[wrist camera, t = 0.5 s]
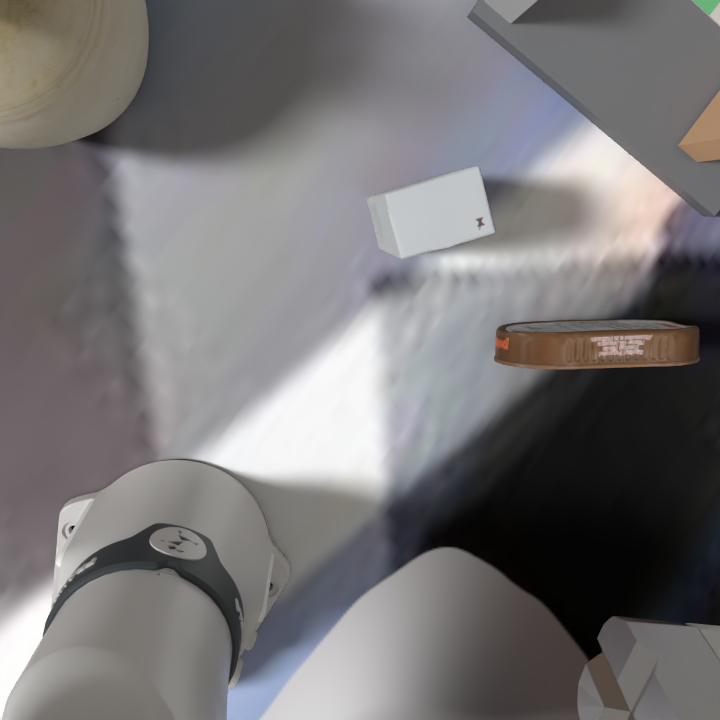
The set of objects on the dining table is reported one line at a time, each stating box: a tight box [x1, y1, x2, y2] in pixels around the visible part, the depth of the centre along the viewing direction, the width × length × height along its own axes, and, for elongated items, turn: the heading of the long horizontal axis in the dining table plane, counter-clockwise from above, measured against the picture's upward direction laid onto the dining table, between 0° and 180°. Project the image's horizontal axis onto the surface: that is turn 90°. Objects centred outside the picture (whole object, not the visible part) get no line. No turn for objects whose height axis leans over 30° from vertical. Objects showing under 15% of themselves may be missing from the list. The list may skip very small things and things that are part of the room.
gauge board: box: [467, 0, 720, 216], centre depth 46 cm, size 24×12×10 cm, turn 54°
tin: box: [494, 319, 700, 369], centre depth 51 cm, size 15×3×8 cm, turn 91°
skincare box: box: [367, 166, 496, 260], centre depth 46 cm, size 6×4×12 cm
